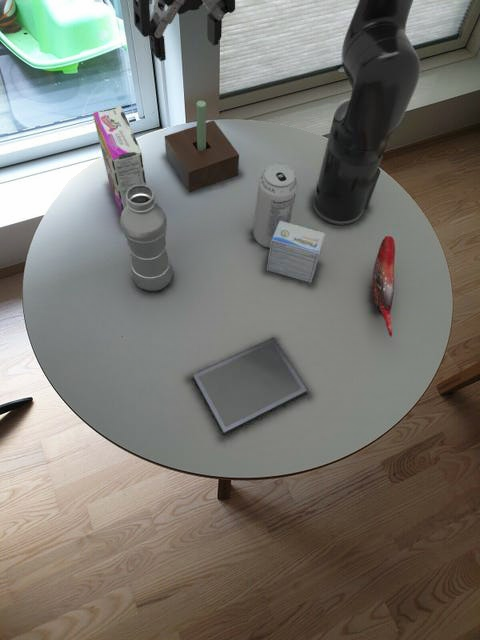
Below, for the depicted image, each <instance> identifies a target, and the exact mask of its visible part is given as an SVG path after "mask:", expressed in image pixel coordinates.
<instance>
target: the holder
mask: <svg viewBox="0 0 480 640" xmlns="http://www.w3.org/2000/svg"><path fill="white" fill-rule="evenodd" d="M164 145H165V146H164V147H165V158H167V160H168V162H169V163H170V165H171V166H172V168H173V170H174V171H175V172H176V174H177V175H178V177H179V179H180V180H181V181H182V183H183V185H184V186H185V187H186V189H187V191H188V192H189V193H191V192H193V191H196V190H199V189H202V188H205V187H208V186H210V185H213V184H216V183H219V182H222V181H225V180H227V179H230V178H233V177H236V176H239V164H240V163H239V161H240V153H238V151H237V149H236V148H235V147H234V146H233V144H232V142H230V140H229V139H228V138H227V136H226V135H225V134H224V132H223V130H221V128H220V127H219V126H218V124H217V123H216V121H215V120H211V121H208V122H207V121H206V150H203V151H200V152H198V151H197V125H195V126H192V127H189V128H185V129H182V130H178V131H175V132H173V133H170V134H166V135H164Z"/></svg>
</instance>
